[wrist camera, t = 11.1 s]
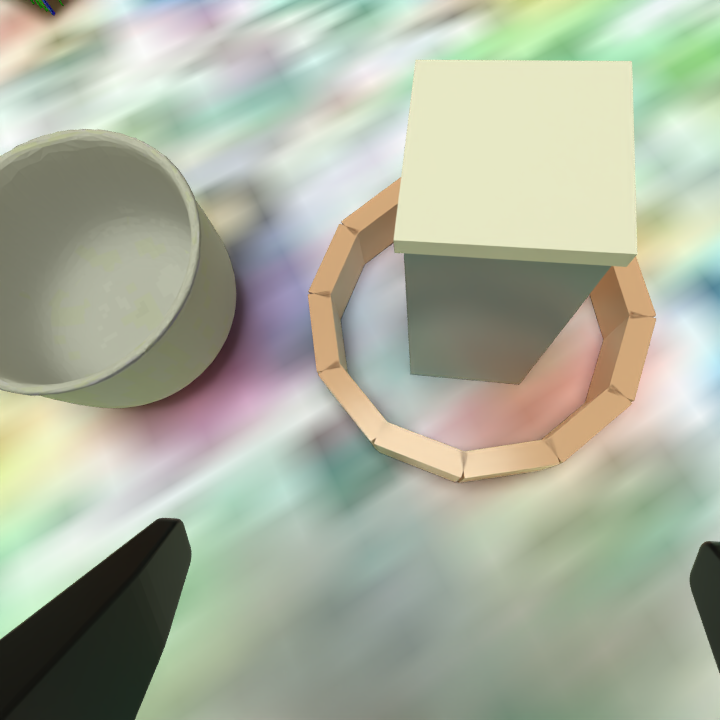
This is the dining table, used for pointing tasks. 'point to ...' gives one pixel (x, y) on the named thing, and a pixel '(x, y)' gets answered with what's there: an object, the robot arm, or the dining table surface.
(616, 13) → the dining table surface
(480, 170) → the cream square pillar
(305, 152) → the dining table surface
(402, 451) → the tan polygonal ring
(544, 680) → the dining table surface
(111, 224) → the teacup
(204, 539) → the dining table surface
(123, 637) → the robot arm
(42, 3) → the brown flat block
